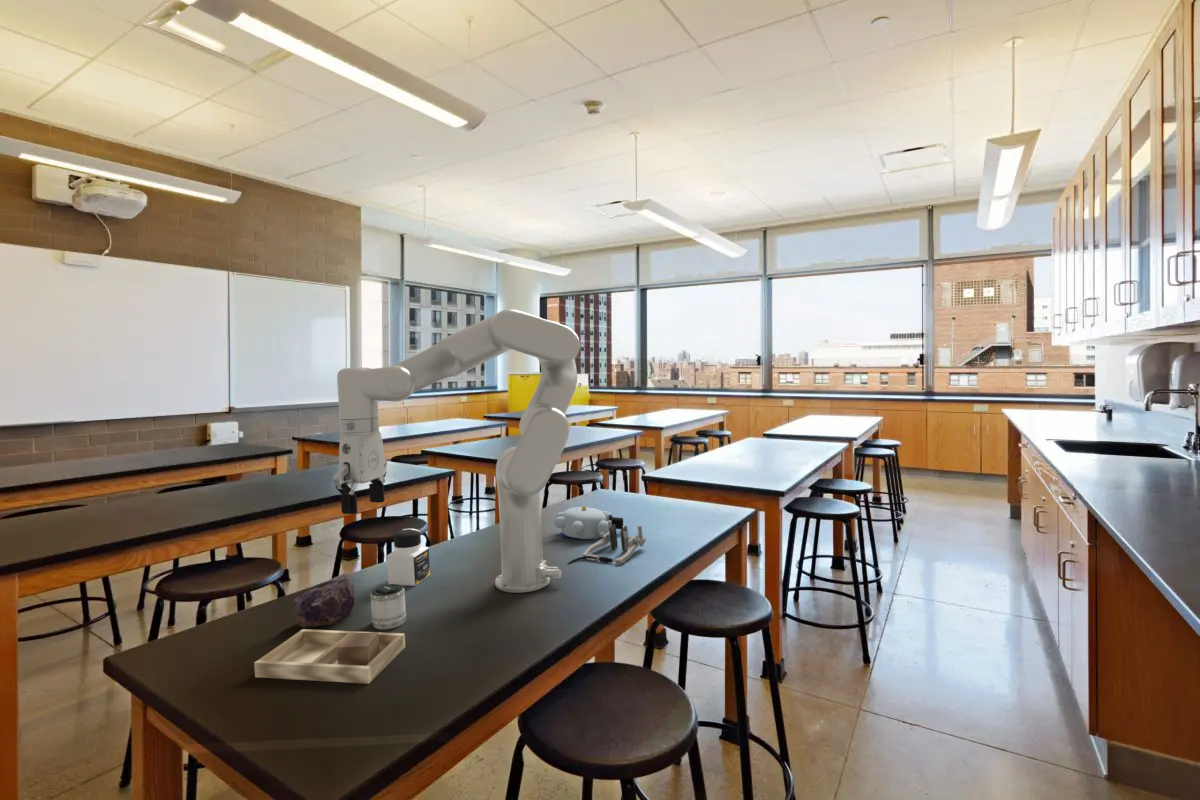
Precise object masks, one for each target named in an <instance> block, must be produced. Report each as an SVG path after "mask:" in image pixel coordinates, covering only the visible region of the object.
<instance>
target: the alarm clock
mask: <svg viewBox="0 0 1200 800" xmlns="http://www.w3.org/2000/svg"><path fill="white" fill-rule="evenodd" d="M609 520H611V523H612V525H613V524H615V526H616V530H621V529H622V528H623V527H624V518H623V517H616V516H615V517H614V516H613V514H612V513H611V512H610V511H606V510H600V509H598V508H595V507H594V508H593V507H587V506H586V505H582V506H576V507H570V508H568V509H566V510H565V511H560V512H558V513H557V514H556V516H555V518H554V526H555V527H556V528H558V529H561V537H562V538H569V537H570V538H574V539H582V540H595V539H596V540H597V539H601V538H602V537H601V536H599V533H600V532H601V533H603V532H605V533H607V532H608V531H609V530H608V521H609Z"/></svg>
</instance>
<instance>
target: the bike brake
mask: <svg viewBox="0 0 1200 800" xmlns="http://www.w3.org/2000/svg"><path fill="white" fill-rule="evenodd" d="M642 528H643V526H642V524H638V525H637V531H638V534H634V535H633V536H629V531H628V529H629V528H628V526H627V525H624V526H623V528H622V529H620V542H621V549H622V552H623V553H624V554H623V555H622V556H621V557H617V558H616V559H613V558H610V557H608V556H599V555H598V554H592V552H594V551H595V550H597V549H601V548H602V547H605V546H606V545H607V544H608V543H609V542H610V550H611V551H615V549H617V548H618V536H617V535H618V533H617V529H616V526H615V524H613V525H612V523H611V520H609V521H608V530H609V531H608V532H607V533H605V532H603V533H601V532H600V533H599V536H601V537H600V539H599V540H598V541H596V542H595V543H593V544H591V545H590V546H588V548H586V550H584V552H583V553H582V556H581V557H577V558H574V559H572V560H570V561H568V563H566V564H567V565H571V564H572V563H574V562H577V561H579V560H580V561H581V560H589V561H594V562H603V563H613V562H615V564H616V565H618V566H620V565H622V564H627V562H626V561H627V560H628V559H629V558H631V557H632V555H633V554H634V552H635V550H636V549H637V548H638V547H644V544H645V543H646V541H647V539H646V535H643V529H642Z"/></svg>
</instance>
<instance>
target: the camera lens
mask: <svg viewBox="0 0 1200 800" xmlns="http://www.w3.org/2000/svg"><path fill="white" fill-rule="evenodd" d="M405 591H406V590H405V588H404V587H403V585H397V584H388V583H386V584H382V585H380V586H378V587H376V588H375V589H373V590H372V591H371V593H370V608H371V610H370V611H371V622H372V626H373V628H375V629H378V630H390V629H394V628H398V627H400V626H402V625H403V624H404V623H405V622H406V618H407V611H406V609H407V608H406V596H405V595H406V593H405Z"/></svg>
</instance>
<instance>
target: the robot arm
mask: <svg viewBox="0 0 1200 800" xmlns="http://www.w3.org/2000/svg"><path fill="white" fill-rule="evenodd" d="M580 342H581V341H580V338H579V336H578V334H577V333H576V332H575V330H573V329H572V328H570V327H569V326H566V325H564V324H561V323H558V322H556V321H552V320H549V319H545V318H542V317H540V316H536V315H533V314H530V313H528V312H525V311H521V310H518V309H515V308H507V309H502V310H501V311H499V312H497V313H495V314H493V315H490V316H489V317H487V318H485V319H483V320H481V321H477V322H476V323H474V324H472V325H469V326H467V327H465V328H463V329H461V330H459V331H456V332H454V333H452V334H451V335H448V336H446V337H444V338H442V339H441V340H439V341H438V342H436V343H435V344H434V345H431V346H430V347H429V348H427V349H424V350H423V351H421V352H419V353H417V354H415V355H412V356H410V357H409V358H407V359H404V360H402V361H400V362H397V363H396V364H393V365H390V366H385V367H378V368H377V367H376V368H372V367H371V368H370V367H345V368H342V369H340V370H338V372H337V377H336V379H337V381H336V382H337V383H336V384H337V398H338V400H337V401H338V418H339V431H340V433H339V434H340V435H339V436H340V437H339V445H338V446H339V447H338V448H339V449H338V470H337V471H336V472H335V473H334V475H333V476H332V480H333V482H334V484H335V489H336V490H337V491H338V495H339V496H340V501H341V503H340V504H341V505H340V506H341V514H343V515H356V514H357V513H358V497H357V493H355V491H356V489H357V486H358V484H366V483H368V484H369V485H368V486H369V491H368V492H369V502H371V503H384V502H385V485H384V484H385V483H386V479H385V477H386V474H387V467H388V461H387V460H386V456H385V448H384V443H383V437H382V433H381V430H380V423H379V422H380V421H379V404H378V403H379V402H378V401H381V402H384V401H385V402H392V403H393V402H394V403H395V402H403V401H404V400H407V399H408V398H409V397H411V396H412V395H413V394H414V393H416V392H418V391H420V390H422V389H424V388H427V387H428V386H431V385H432V384H435V383H437V382H440V381H442V380H444V379H447V378H451V377H455V376H457V375H458V376H459V375H461V374H463V373H466V372H467V371H470V370H472V369H474V368H476V367H478V366H480V365H483V364H484V363H486V362H488V361H490V360H493V359H494V358H496V357H498V356H500V355H502V354H504V353H507V352H508V351H511V350H513V351H516V352H519V353H522V354H525V355H528V356H532V357H534V358H537V360H538V362H539V364H540V368H541V369H540V370H541V372H540V373H541V374H540V378H539V381H538V384H537V386H536V389H535V390H534V392H533V395H532V397H531V399H530V401H529V402H528V405H527V406H526V409H525V410H524V411H523V414H522V416H521V418H520V420H519V426H518V429H519V432H520V435H521V438H520V439H519V442H518V444H517V446H511V447H509V448H507V449H505V450H504V451H502V452H501V454H500V455H499V457H498V459H497V461H496V464H495V465H496V466H495V479H496V487H497V488H496V489H497V497H498V512H499V513H498V514H499V535H500V539H499V540H500V562H501V566H500V567H501V574H499V575H498V576H497V577H496V578H495V581H494V582H495V588H496V589H498V590H500V591H502V592H506V593H514V594H520V593H528V592H529V593H530V592H534V591H538V590H541V589H544V588H545V587H546V586H548V585H549V584H550V583H551V578H552V579H561V577H562V570H561V569H559V566H549V565H547V560H546V559H543V535H542V534H543V533H542V531H543V530H542V507H541V506H542V505H541V502H542V501H541V493H540V492H541V491H542V490H543V489H544V488H545V486H547V483H548V481H549V480H550V478H551V476H552V474H553V472H554V469H555V467H556V466H557V464H558V461H559V460H560V457H561V456H562V453H563V451H564V449H565V447H566V444H567V442H568V439H569V436H570V424H569V419H568V418H567V416H566V413H567V411H568V408H569V407H570V403H571V401H572V399H573V396H574V393H575V391H576V387H577V383H578V370H577V364H576V359H575V358H577V356H578V355H579V352H580V348H581V343H580ZM369 482H370V483H369Z"/></svg>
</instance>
